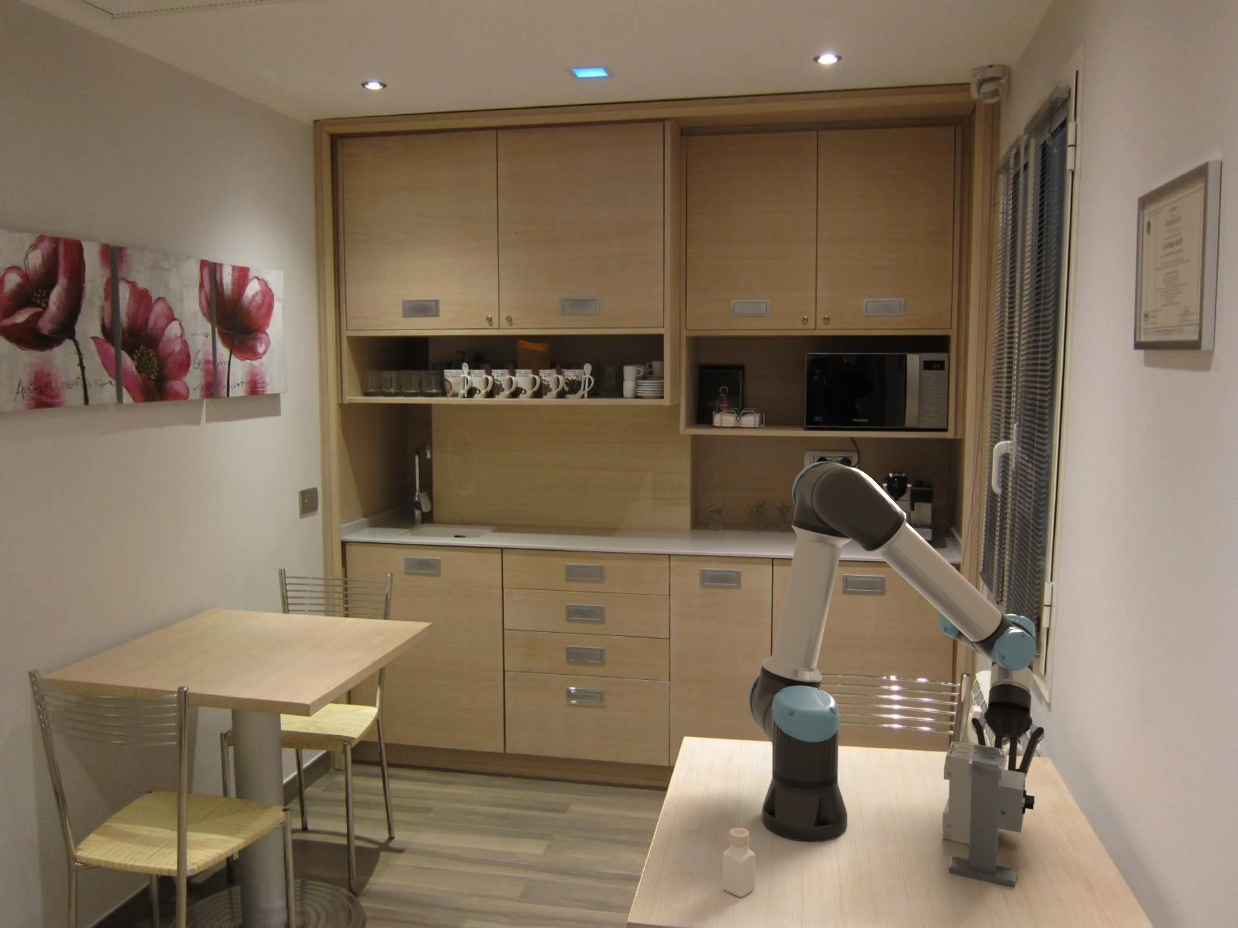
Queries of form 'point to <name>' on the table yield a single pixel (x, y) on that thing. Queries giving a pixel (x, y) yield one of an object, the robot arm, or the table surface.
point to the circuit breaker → (959, 799)
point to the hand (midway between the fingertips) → (1000, 811)
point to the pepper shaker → (739, 864)
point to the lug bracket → (985, 819)
